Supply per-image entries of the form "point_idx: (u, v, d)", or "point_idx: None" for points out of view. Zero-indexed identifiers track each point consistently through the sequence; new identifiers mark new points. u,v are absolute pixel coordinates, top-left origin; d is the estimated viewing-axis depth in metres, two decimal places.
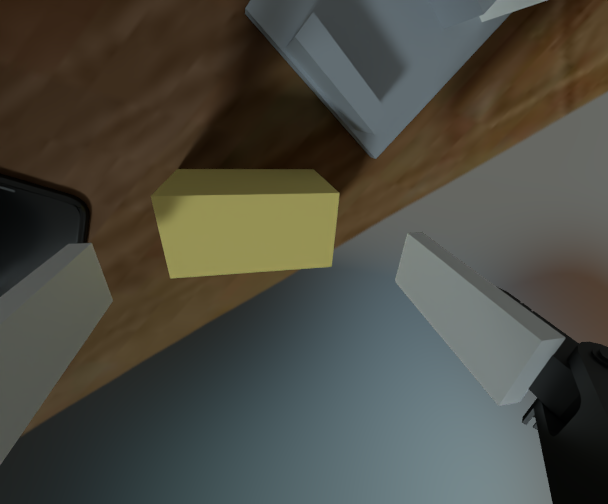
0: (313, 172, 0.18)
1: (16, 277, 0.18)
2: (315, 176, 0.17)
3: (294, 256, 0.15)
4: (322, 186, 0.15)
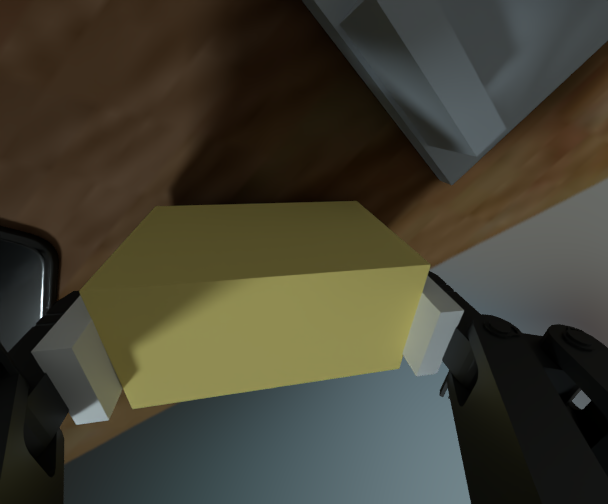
0: (361, 209, 0.12)
1: None
2: (368, 218, 0.11)
3: (342, 360, 0.09)
4: (391, 245, 0.09)
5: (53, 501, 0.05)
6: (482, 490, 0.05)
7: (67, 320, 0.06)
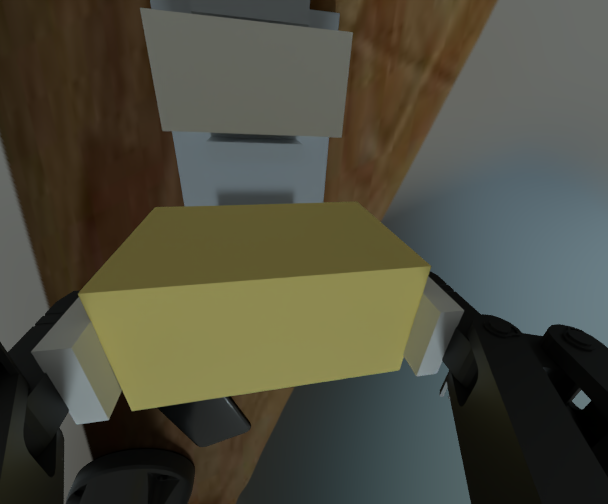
0: (361, 210, 0.12)
1: (199, 404, 0.33)
2: (368, 219, 0.11)
3: (342, 362, 0.09)
4: (391, 246, 0.09)
5: (53, 501, 0.05)
6: (482, 490, 0.05)
7: (67, 320, 0.06)
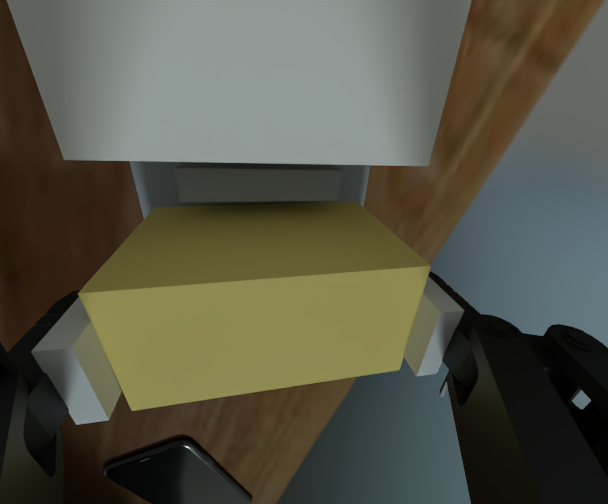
0: (361, 209, 0.12)
1: (187, 485, 0.26)
2: (368, 219, 0.11)
3: (342, 362, 0.09)
4: (391, 246, 0.09)
5: (53, 501, 0.05)
6: (482, 490, 0.05)
7: (67, 320, 0.06)
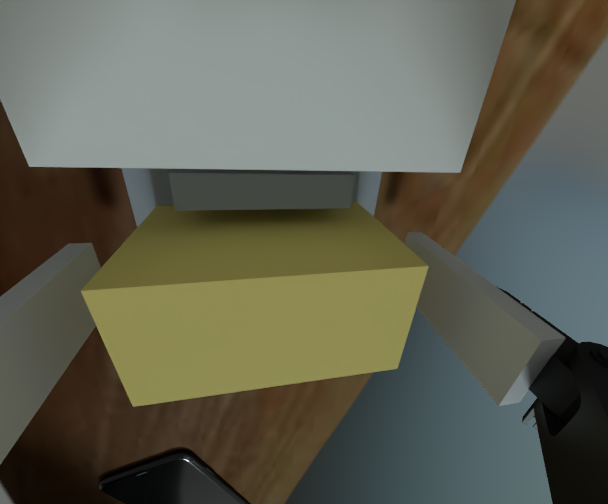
0: (360, 209, 0.12)
1: (186, 497, 0.25)
2: (367, 219, 0.11)
3: (340, 360, 0.09)
4: (390, 246, 0.09)
5: None
6: None
7: None
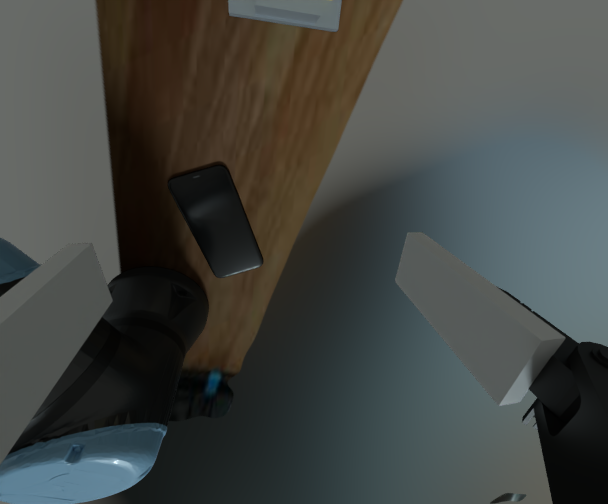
0: None
1: (220, 220, 0.36)
2: None
3: None
4: None
5: None
6: None
7: None
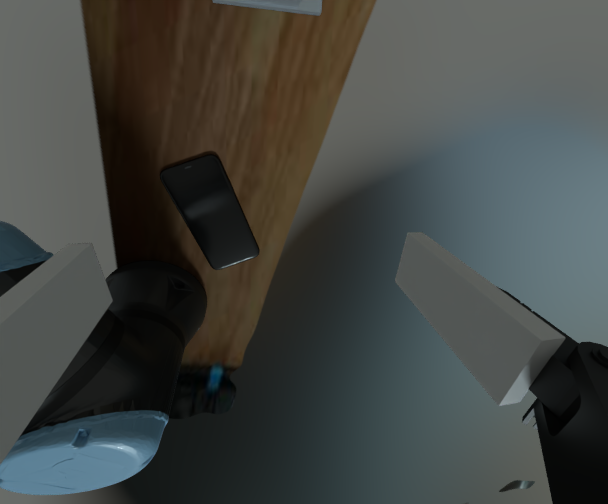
0: None
1: (214, 210, 0.37)
2: None
3: None
4: None
5: None
6: None
7: None
